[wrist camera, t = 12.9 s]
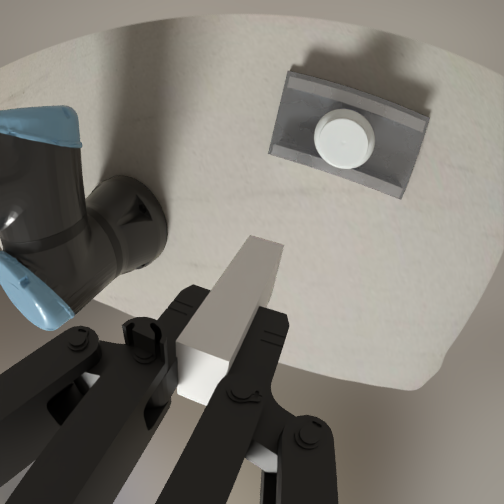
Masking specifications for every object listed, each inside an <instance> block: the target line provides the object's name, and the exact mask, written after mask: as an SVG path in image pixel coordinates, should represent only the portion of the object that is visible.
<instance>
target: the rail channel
mask: <svg viewBox="0 0 504 504" xmlns="http://www.w3.org/2000/svg"><path fill="white" fill-rule="evenodd" d="M340 108H349V109H353V110H355V111H358V112H359V113H361V114H362V115H363V116H364V117H365V118H366V119H367V120H368V122H369V123H370V125H371V126H372V129H373V131H374V136H375V145H374V149H373V152H372V154H371V156H370V157H369V159H368V160H367V161H366V162H365V163H364V164H362V165H360V166H358V167H356V168H352V169H341V168H337V167H334V166H332V165H330V164H329V163H327V162H326V161H325V160H324V159H323V158H322V157H321V156H320V154H319V153H318V151H317V149H316V146H315V142H314V132H315V128H316V126H317V124H318V122H319V120H320V119H321V118H322V117H323V116H324V115H325V114H327V113H328V112H330V111H332V110H336V109H340ZM428 122H429V117H427V116H424V115H422V114H420V113H418V112H415V111H413V110H410V109H408V108H406V107H403V106H401V105H398V104H396V103H393V102H391V101H388V100H385V99H383V98H380V97H377V96H374V95H371V94H369V93H366V92H363V91H360V90H357V89H354V88H350V87H347V86H344V85H341V84H337V83H334V82H331V81H327V80H323V79H320V78H316V77H312V76H308V75H304V74H300V73H296V72H291V71H288V72H287V77H286V81H285V85H284V89H283V93H282V98H281V102H280V106H279V110H278V114H277V119H276V123H275V127H274V131H273V136H272V140H271V144H270V148H269V153H268V154H271V155H273V156H277V157H280V158H284V159H287V160H290V161H293V162H297V163H300V164H303V165H306V166H309V167H312V168H316V169H319V170H322V171H325V172H328V173H331V174H333V175H336V176H339V177H342V178H345V179H348V180H351V181H353V182H356V183H359V184H362V185H364V186H367V187H370V188H372V189H375V190H377V191H380V192H383V193H385V194H388V195H390V196H393V197H395V198H398V199H402V196H403V194H404V191H405V189H406V186H407V183H408V181H409V178H410V175H411V173H412V170H413V167H414V164H415V161H416V159H417V156H418V153H419V150H420V147H421V144H422V141H423V138H424V135H425V131H426V128H427V125H428Z"/></svg>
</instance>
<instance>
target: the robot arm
mask: <svg viewBox="0 0 504 504" xmlns="http://www.w3.org/2000/svg"><path fill="white" fill-rule="evenodd" d="M81 148H82V143H81V142H80V133H79V121H78V115H77V113H76V111H75V110H74V109H73V108H71V107H69V106H64V105H61V106H41V107H28V108H17V109H8V110H0V238H1V242H2V245H3V251H0V284H1V286H2V287H3V289H4V291H5V292H6V294H7V295H8V297H9V298H10V300H11V301H12V302H13V304H14V305H15V306H16V307H17V308H18V310H19V311H20V312H21V313H22V314H23V315H24V316H25V317H26V318H27V319H28V320H29V321H31V322H32V323H33V324H35V325H36V326H38V327H39V328H41V329H44V330H47V331H52V330H55V329H58V328H59V327H60V326H61V325H63V324H64V323H65V322H66V321H68V320H69V319H72V318H73V317H74V316H75V314H77V313H78V312H79V311H80V310H81V309H82V308H83V307H84V306H85V305H86V304H88V303H89V302H90V301H91V300H92V299H93V298H94V297H95V296H96V295H97V294H98V293H99V292H101V291H102V290H103V289H104V288H105V287H106V286H107V285H108V284H109V283H111V282H112V281H113V280H114V279H115V278H116V277H118V276H119V275H121V274H125V273H128V272H131V271H133V270H135V269H140V268H143V267H146V266H147V265H149V264H150V263H152V262H153V261H154V260H155V259H156V258H157V257H159V255H160V254H161V253H162V251H163V249H164V247H165V244H166V239H167V227H166V221H165V217H164V214H163V211H162V209H161V207H160V205H159V203H158V201H157V199H156V198H155V197H154V195H153V194H152V193H151V191H150V190H149V189H148V188H147V187H146V186H144V185H143V184H142V183H140V182H139V181H137V180H135V179H133V178H130V177H127V176H116V177H113V178H110V179H108V180H106V181H103V182H102V183H100V184H99V185H98V186H96V187H95V189H94V190H93V191H92V193H91V194H90V195H89V196H88V197H87V198H86V199H85V194H84V186H83V176H82V163H81ZM283 247H284V245H282V244H279V243H276V242H272V241H269V240H265V239H262V238H259V237H255V236H252V235H250V236H249V237H248V239H247V240H246V242H245V243H244V245H243V246H242V247H241V249H240V250H239V252H238V253H237V254H236V256H235V257H234V259H233V260H232V261H231V263H230V264H229V266H228V267H227V269H226V270H225V271H224V273H223V274H222V276H221V277H220V278H219V280H218V281H217V283H216V284H215V286H214V287H213V288H212V290H211V291H210V290H208V289H205V288H202V287H199V286H196V285H191V286H189V287H187V288H185V289H183V290H182V291H181V292H180V293H179V294H178V295H177V297H176V298H175V299H174V301H173V302H172V303H171V304H170V305H169V306H168V309H166V310H165V311H164V313H163V314H162V315H161V316H160V317H159V319H158V320H155V319H152V318H148V317H136V318H133V319H130V320H128V321H127V322H125V323H124V324H123V325H122V328H123V333H124V339H125V344H116V343H111V342H105V341H100V340H99V338H98V335H97V334H96V333H95V331H94V330H92V329H90V328H89V327H84V326H77V327H72V328H70V329H68V330H66V331H64V332H63V333H61V334H60V335H58V336H57V337H55V338H54V339H52V340H51V341H49V342H48V343H46V344H45V345H43V346H42V347H40V348H39V349H37V350H36V351H34V352H33V353H31V354H30V355H28V356H27V357H25V358H24V359H22V360H21V361H19V362H18V363H16V364H15V365H14V366H12V367H11V368H9V369H8V370H6V371H5V372H3V373H2V374H0V487H1V486H2V485H4V484H5V483H6V482H8V481H9V480H10V479H12V478H13V477H14V476H15V475H17V474H18V473H19V472H21V471H22V470H23V469H25V468H26V467H27V466H28V465H30V464H31V463H32V462H33V461H35V462H34V463H33V465H32V466H31V467H30V469H29V470H28V471H27V473H26V474H25V476H24V477H23V478H22V480H21V481H20V483H19V484H18V486H17V487H16V488H15V490H14V491H13V493H12V494H11V496H10V497H9V499H8V500H7V502H6V503H5V504H113V502H114V500H115V499H116V497H117V495H118V493H119V492H120V490H121V488H122V487H123V485H124V484H125V482H126V480H127V479H128V477H129V475H130V474H131V472H132V470H133V468H134V467H135V465H136V463H137V462H138V460H139V458H140V457H141V455H142V453H143V452H144V450H145V448H146V447H147V445H148V443H149V442H150V440H151V438H152V436H153V435H154V433H155V431H156V430H157V428H158V426H159V425H160V423H161V421H162V420H163V418H164V416H165V414H166V413H167V411H168V409H169V408H170V404H171V396H172V394H173V392H174V390H175V389H176V387H177V390H178V391H177V393H178V394H179V395H181V396H184V397H186V398H188V399H191V400H193V401H196V402H198V403H201V404H203V405H206V408H205V410H204V412H203V414H202V416H201V418H200V420H199V422H198V424H197V426H196V427H195V429H194V431H193V434H192V435H191V437H190V439H189V441H188V443H187V445H186V447H185V449H184V451H183V453H182V454H181V456H180V458H179V460H178V462H177V464H176V466H175V468H174V470H173V471H172V473H171V475H170V477H169V479H168V481H167V483H166V484H165V486H164V488H163V490H162V492H161V494H160V496H159V497H158V499H157V501H156V503H155V504H226V502H227V500H228V497H229V495H230V492H231V490H232V488H233V485H234V483H235V480H236V478H237V475H238V473H239V470H240V468H241V465H242V463H243V460H244V458H246V459H247V460H249V461H250V462H252V463H253V464H255V465H256V466H258V467H259V468H261V469H262V473H261V490H260V504H338V492H337V475H336V462H335V450H334V439H333V434H332V431H331V429H330V427H329V426H328V425H327V424H326V423H325V422H324V421H323V420H321V419H319V418H317V417H314V416H309V415H304V416H297V417H295V416H294V415H292V414H291V413H289V412H288V411H286V410H285V409H283V408H282V407H281V406H280V405H278V403H277V402H276V401H275V399H274V398H273V395H272V393H271V382H272V379H273V376H274V373H275V370H276V366H277V364H278V361H279V357H280V354H281V351H282V348H283V345H284V342H285V339H286V335H287V332H288V329H289V322H288V318H287V314H284V313H281V312H277V311H274V310H271V309H268V308H266V307H267V304H268V302H269V300H270V297H271V295H272V291H273V287H274V283H275V279H276V275H277V271H278V267H279V263H280V259H281V255H282V251H283Z"/></svg>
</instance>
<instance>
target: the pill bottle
mask: <svg viewBox="0 0 504 504" xmlns="http://www.w3.org/2000/svg"><path fill="white" fill-rule="evenodd" d="M314 142H315V146H316V149H317V151H318V153H319V154H320V156H321V157H322V158H323V159H324V160H325V161H326V162H327V163H329V164H330V165H332V166H334V167H337V168H341V169H352V168H356V167H358V166H360V165H362V164H364V163H365V162H366V161H367V160H368V159H369V157H370V156H371V154H372V152H373V149H374V145H375V136H374V131H373V129H372V126H371V125H370V123H369V122H368V120H367V119H366V118H365V117H364V116H363V115H362V114H361V113H359V112H358V111H355V110H353V109H349V108H340V109H336V110H332V111H330V112H328V113H327V114H325V115H324V116H323V117H322V118H321V119H320V120H319V122H318V124H317V126H316V128H315V132H314Z"/></svg>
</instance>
